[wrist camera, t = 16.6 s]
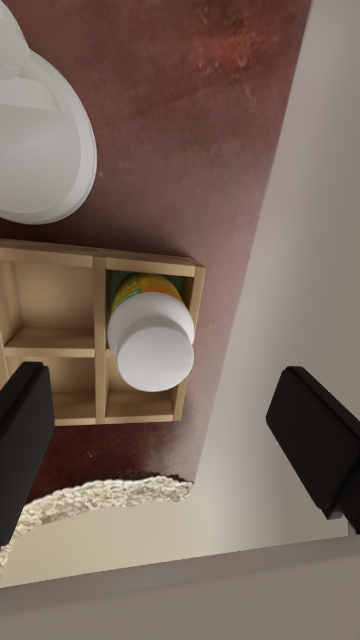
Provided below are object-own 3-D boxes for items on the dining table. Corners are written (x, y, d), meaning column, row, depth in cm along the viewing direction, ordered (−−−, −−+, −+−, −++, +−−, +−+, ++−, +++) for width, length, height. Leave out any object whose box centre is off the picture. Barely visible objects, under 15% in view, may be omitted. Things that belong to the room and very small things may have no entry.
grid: (193, 257, 21) (206, 267, 17) (174, 392, 26) (180, 420, 23) (3, 238, 18) (-32, 244, 14) (27, 394, 23) (7, 428, 20)
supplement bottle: (133, 256, 19) (133, 291, 10) (188, 288, 21) (227, 340, 12) (104, 311, 20) (82, 383, 12) (158, 336, 22) (173, 414, 14)
